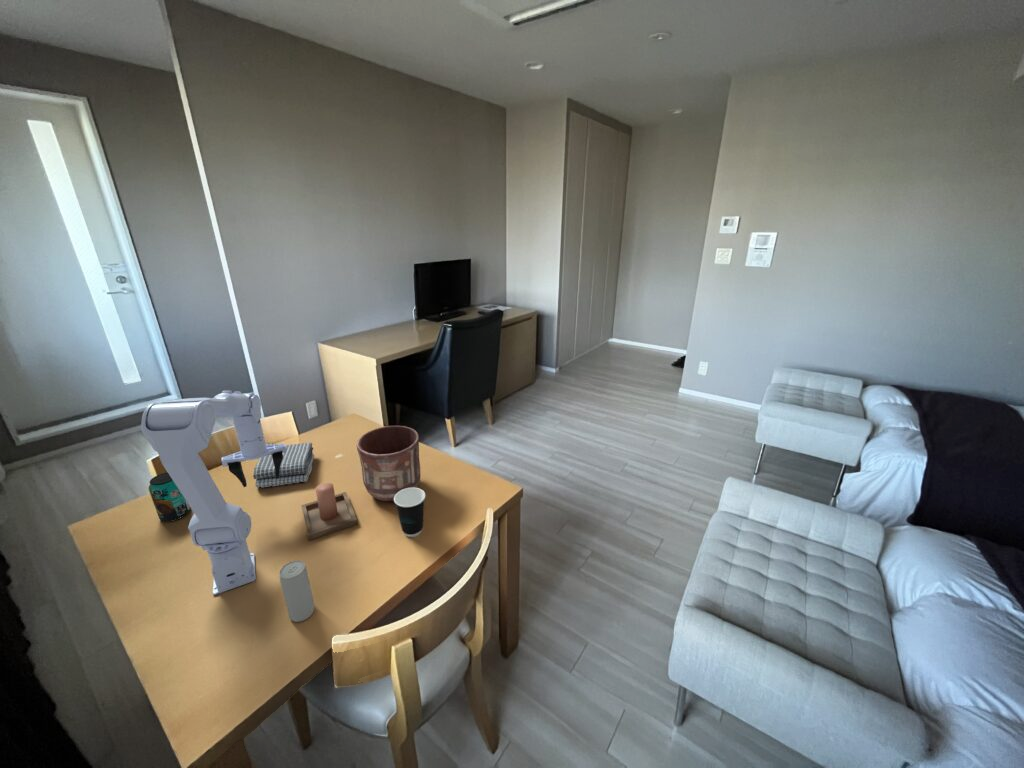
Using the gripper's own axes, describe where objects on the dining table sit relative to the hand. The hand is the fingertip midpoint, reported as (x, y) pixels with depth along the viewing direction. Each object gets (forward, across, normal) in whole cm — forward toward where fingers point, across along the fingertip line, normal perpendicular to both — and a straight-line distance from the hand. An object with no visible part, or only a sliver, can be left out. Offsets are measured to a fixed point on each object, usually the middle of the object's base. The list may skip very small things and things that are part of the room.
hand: (261, 480), depth 111 cm
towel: (+11, -6, -20) cm, 24 cm away
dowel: (+10, -14, +11) cm, 20 cm away
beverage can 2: (+11, -4, +40) cm, 42 cm away
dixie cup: (+11, -32, +28) cm, 44 cm away
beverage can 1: (+11, +22, -12) cm, 27 cm away
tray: (+10, -14, +11) cm, 21 cm away
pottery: (+11, -33, +8) cm, 36 cm away
